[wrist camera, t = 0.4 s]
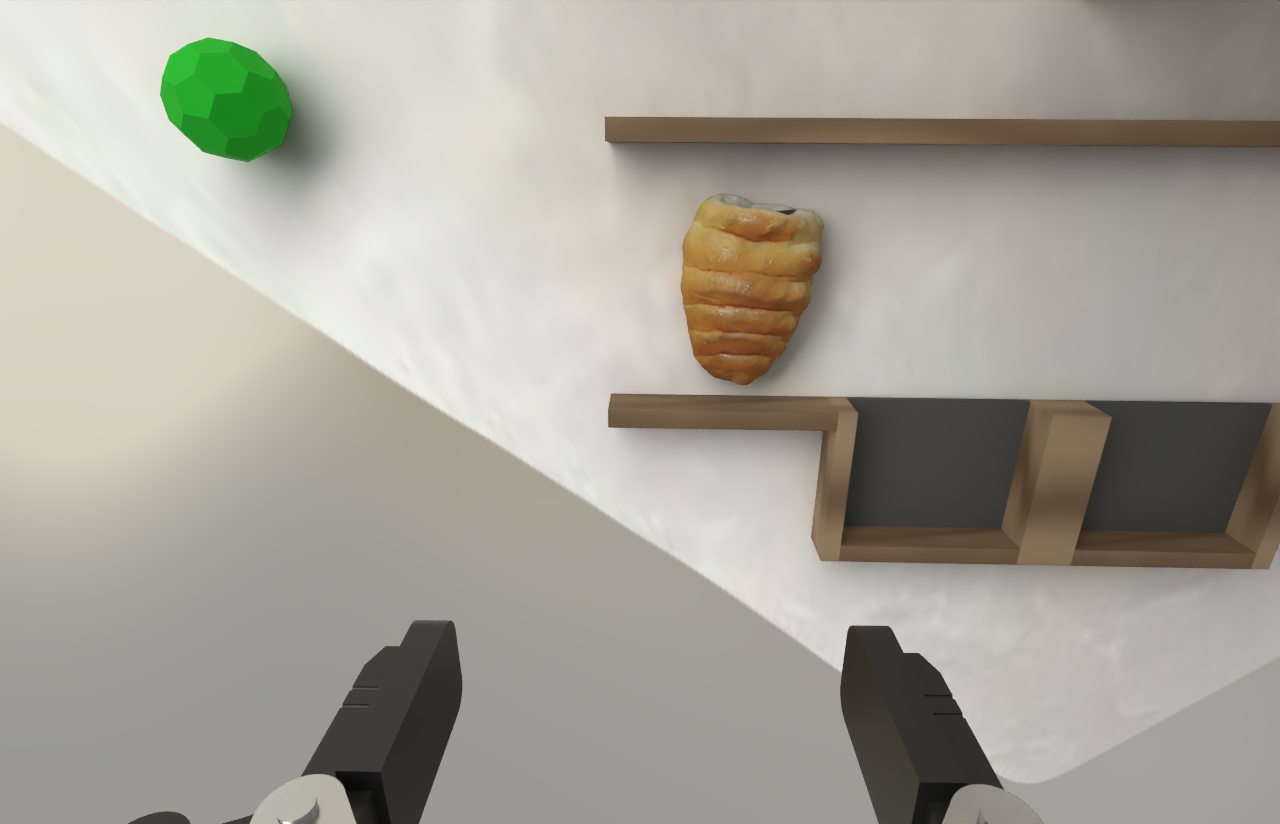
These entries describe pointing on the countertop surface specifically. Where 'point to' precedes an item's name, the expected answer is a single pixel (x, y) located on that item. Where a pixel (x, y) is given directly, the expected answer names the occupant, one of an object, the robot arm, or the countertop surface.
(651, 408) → the lane
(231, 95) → the polyhedron
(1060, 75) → the countertop surface
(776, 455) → the countertop surface
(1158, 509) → the mats
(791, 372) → the countertop surface
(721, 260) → the pastry
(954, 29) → the countertop surface
